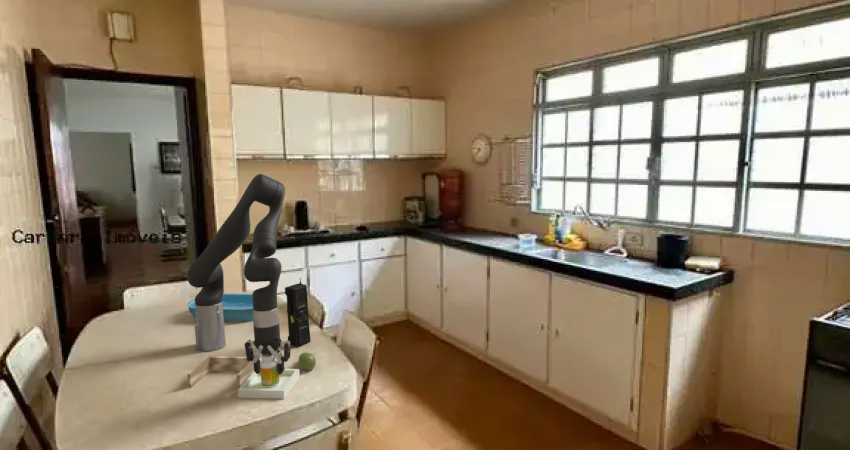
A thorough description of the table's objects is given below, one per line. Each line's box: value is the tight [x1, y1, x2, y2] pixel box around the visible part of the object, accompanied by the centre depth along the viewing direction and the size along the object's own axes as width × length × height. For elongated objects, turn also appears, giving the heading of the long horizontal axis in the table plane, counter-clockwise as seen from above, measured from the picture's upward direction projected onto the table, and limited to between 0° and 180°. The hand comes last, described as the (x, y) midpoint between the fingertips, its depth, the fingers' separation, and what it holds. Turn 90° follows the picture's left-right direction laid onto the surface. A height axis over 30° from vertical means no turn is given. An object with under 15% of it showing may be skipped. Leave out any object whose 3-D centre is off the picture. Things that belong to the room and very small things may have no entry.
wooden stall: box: [187, 355, 254, 390], centre depth 152 cm, size 17×13×4 cm
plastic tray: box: [237, 368, 301, 400], centre depth 146 cm, size 14×14×2 cm
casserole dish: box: [187, 293, 253, 322], centre depth 212 cm, size 37×22×7 cm, turn 87°
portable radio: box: [284, 278, 312, 348], centre depth 177 cm, size 8×6×25 cm
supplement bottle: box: [260, 354, 280, 388], centre depth 146 cm, size 5×5×10 cm
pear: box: [297, 352, 317, 372], centre depth 160 cm, size 6×5×10 cm
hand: (269, 373), depth 146 cm, fingers open, 6 cm apart
